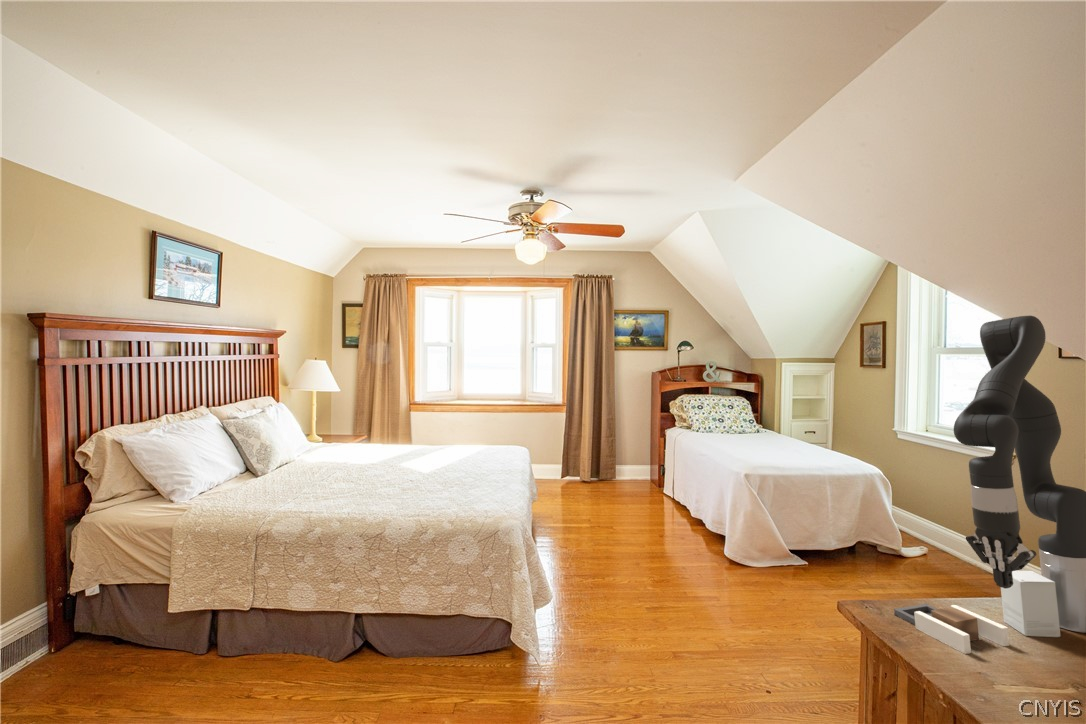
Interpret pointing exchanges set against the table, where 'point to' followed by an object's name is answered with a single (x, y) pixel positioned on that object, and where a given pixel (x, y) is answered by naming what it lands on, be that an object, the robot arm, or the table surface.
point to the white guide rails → (956, 636)
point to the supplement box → (1031, 605)
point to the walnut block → (958, 620)
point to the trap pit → (908, 612)
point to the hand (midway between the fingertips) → (1004, 586)
